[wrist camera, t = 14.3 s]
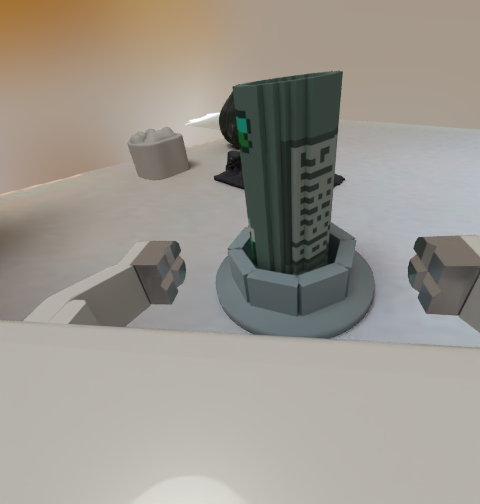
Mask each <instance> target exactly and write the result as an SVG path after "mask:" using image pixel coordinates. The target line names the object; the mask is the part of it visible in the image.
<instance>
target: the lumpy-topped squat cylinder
mask: <svg viewBox="0 0 480 504" xmlns="http://www.w3.org/2000/svg"><path fill="white" fill-rule="evenodd" d="M128 147H129V150H130V153H131V156H132V159H133V162H134V165H135V167H136V170H137V173H138V176H139V177H141V178H144V179H149V180H161V179H166V178H169V177H171V176H173V175H176V174H178V173H181V172H184V171H187V170H189V168H190V167H189V163H188V158H187V154H186V150H185V146H184V141H183V137H182V135H181V134H178V133H174V132H173V131H172V130H171V129H170V128H168V127H165V128H163V129H162V130H158V131H155V130H154V129H148V130H147V131H146V132H145V133H143V132H137V133H136V134H135V135H133V136H132V137H131V138H130V141H129V142H128Z"/></svg>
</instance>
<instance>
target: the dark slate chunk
mask: <svg viewBox="0 0 480 504" xmlns="http://www.w3.org/2000/svg"><path fill="white" fill-rule="evenodd" d="M214 179H215V180H217V181H223V182H226V183H227V184H230V185H233V186H236V187H240V188H244V180H243V172H242V163H241V155H240V152H239V151H230V152H228V158H227V165H226V171H225V172H223V173H221V174H219V175H216V176H214ZM342 180H345V178H343V177H342V176H340V175H337V174H334V185H333V186H336V185H339V184H340V183H341V182H342Z"/></svg>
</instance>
